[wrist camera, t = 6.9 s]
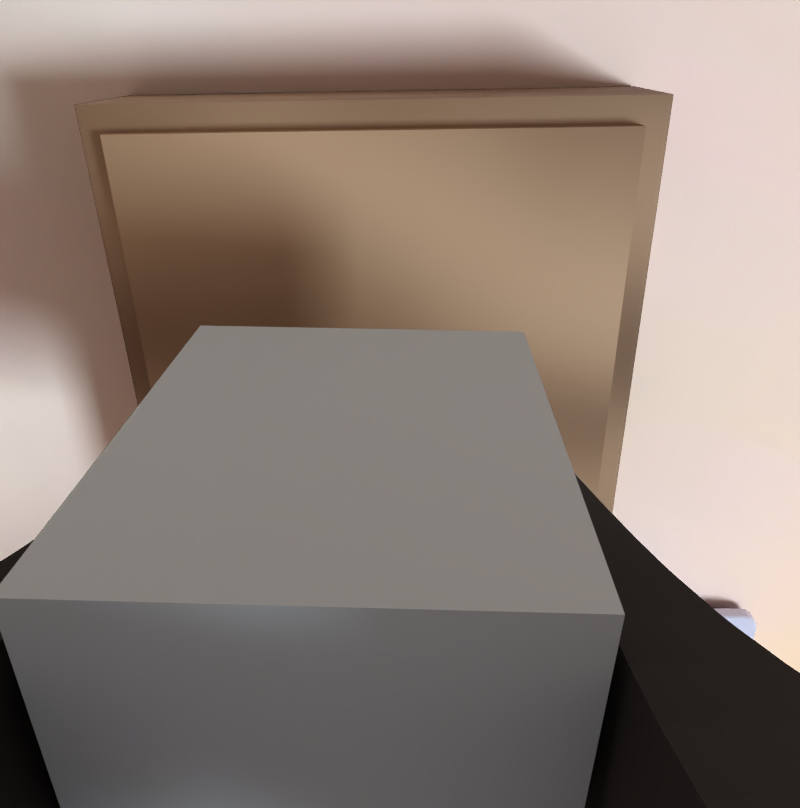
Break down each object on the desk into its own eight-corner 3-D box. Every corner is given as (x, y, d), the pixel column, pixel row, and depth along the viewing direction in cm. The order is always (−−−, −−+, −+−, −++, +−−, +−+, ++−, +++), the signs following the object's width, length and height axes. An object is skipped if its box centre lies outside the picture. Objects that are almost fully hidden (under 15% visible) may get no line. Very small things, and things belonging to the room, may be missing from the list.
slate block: (499, 582, 13) (553, 954, 8) (232, 576, 13) (104, 937, 8) (524, 331, 11) (625, 614, 5) (200, 325, 11) (-12, 597, 6)
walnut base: (582, 507, 20) (606, 578, 17) (202, 506, 20) (168, 575, 18) (633, 86, 15) (678, 95, 12) (129, 95, 15) (67, 105, 13)
